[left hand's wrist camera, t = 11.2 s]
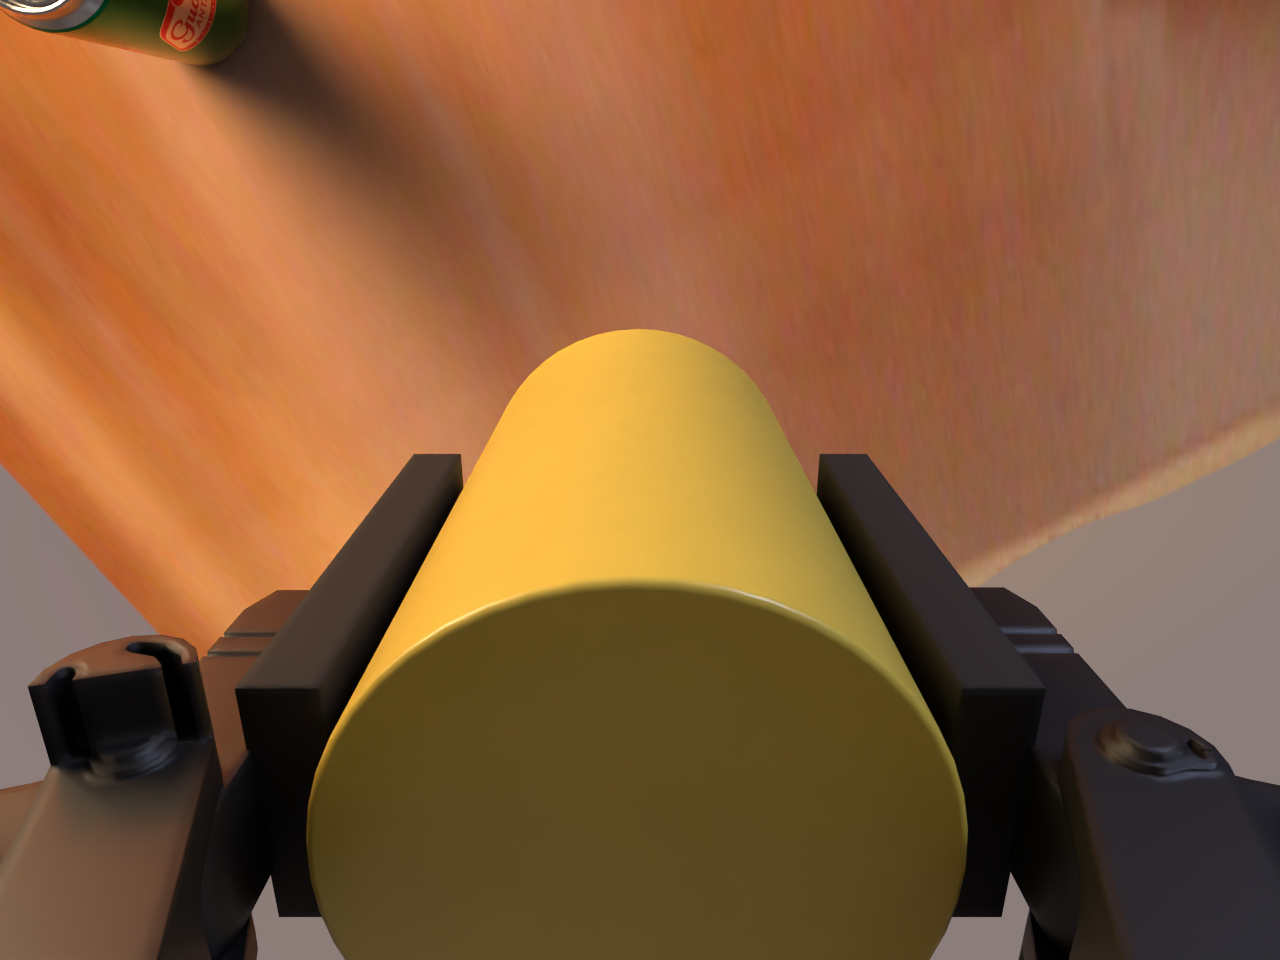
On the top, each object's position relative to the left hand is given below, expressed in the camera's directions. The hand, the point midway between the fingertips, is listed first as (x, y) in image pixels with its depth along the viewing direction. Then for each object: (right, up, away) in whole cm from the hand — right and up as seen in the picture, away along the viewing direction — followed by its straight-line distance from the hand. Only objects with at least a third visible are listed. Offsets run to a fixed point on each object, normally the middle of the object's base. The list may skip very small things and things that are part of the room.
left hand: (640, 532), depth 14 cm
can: (0, +1, +3) cm, 3 cm away
